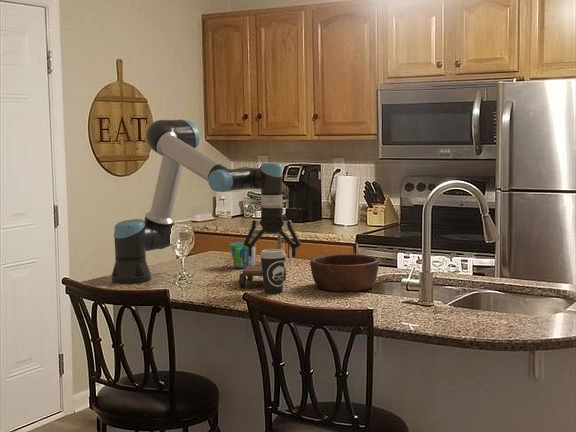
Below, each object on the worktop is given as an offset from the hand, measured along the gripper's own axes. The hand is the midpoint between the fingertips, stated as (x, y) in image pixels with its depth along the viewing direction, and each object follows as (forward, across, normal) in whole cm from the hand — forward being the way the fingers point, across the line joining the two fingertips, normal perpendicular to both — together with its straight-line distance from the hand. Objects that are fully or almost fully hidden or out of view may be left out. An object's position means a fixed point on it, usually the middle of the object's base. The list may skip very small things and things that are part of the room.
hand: (272, 266), depth 274 cm
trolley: (+10, -6, +15) cm, 19 cm away
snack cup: (+10, -21, +48) cm, 54 cm away
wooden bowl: (+10, +25, +11) cm, 29 cm away
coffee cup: (+10, 0, 0) cm, 10 cm away
